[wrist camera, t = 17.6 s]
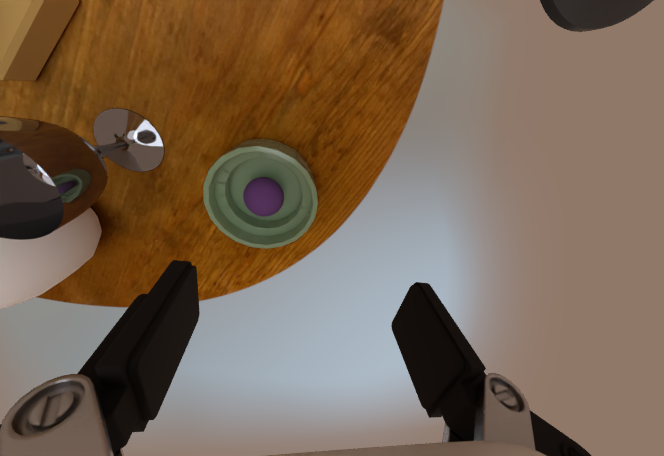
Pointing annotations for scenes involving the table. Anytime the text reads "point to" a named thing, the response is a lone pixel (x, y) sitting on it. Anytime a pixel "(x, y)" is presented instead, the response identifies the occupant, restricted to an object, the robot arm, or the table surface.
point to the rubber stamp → (30, 34)
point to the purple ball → (263, 196)
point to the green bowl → (243, 167)
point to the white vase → (45, 259)
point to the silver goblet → (65, 168)
